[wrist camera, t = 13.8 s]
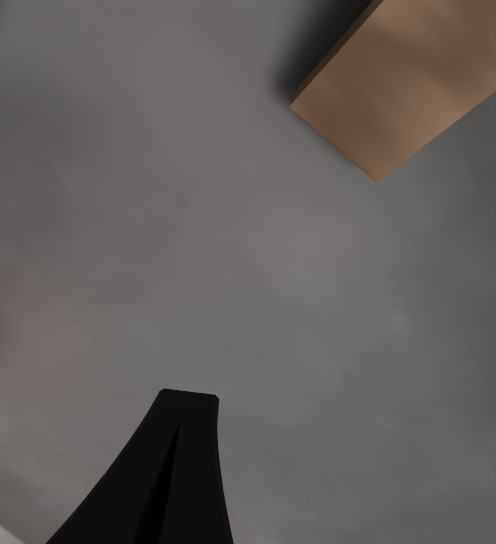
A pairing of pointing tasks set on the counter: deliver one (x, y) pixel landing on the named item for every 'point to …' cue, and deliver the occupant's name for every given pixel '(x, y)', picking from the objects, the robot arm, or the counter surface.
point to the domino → (400, 78)
